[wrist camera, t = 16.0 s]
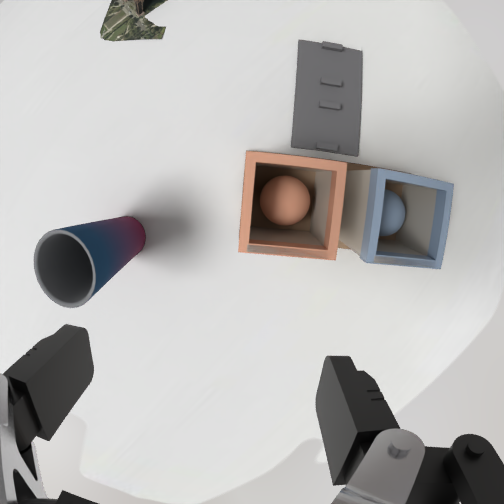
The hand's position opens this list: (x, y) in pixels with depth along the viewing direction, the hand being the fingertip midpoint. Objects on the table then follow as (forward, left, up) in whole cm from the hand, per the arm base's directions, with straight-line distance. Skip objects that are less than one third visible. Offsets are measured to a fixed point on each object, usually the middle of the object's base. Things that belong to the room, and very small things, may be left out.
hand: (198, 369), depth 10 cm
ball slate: (-4, +16, -27) cm, 31 cm away
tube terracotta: (-4, +4, -27) cm, 28 cm away
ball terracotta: (-4, +4, -27) cm, 28 cm away
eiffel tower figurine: (-31, -16, -29) cm, 46 cm away
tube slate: (-4, +16, -27) cm, 31 cm away
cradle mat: (-17, +9, -28) cm, 34 cm away
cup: (+2, -14, -28) cm, 32 cm away
